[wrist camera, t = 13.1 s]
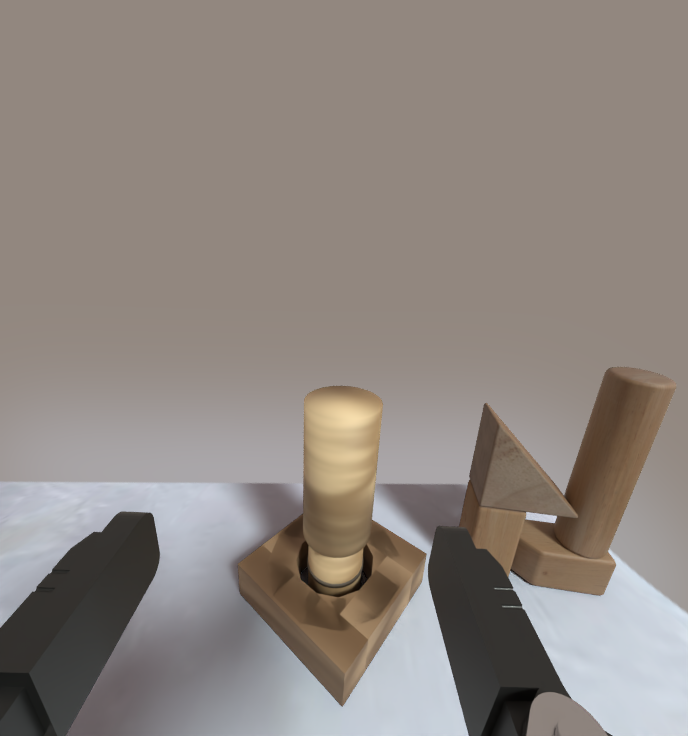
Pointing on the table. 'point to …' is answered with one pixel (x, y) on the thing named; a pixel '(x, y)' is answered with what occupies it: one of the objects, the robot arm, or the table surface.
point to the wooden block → (584, 491)
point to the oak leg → (339, 484)
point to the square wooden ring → (332, 603)
